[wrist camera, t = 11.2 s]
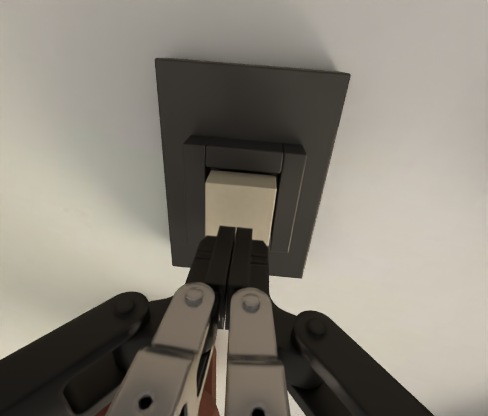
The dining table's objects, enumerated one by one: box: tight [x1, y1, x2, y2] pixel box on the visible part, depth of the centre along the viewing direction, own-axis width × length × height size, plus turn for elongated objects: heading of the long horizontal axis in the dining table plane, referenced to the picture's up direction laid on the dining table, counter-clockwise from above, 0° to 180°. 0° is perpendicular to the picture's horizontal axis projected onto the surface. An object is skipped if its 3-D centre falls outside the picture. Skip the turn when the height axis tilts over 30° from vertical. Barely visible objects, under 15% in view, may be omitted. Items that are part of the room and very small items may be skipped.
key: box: [205, 170, 277, 246], centre depth 15 cm, size 4×4×2 cm
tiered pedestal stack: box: [155, 58, 351, 278], centre depth 17 cm, size 14×10×4 cm
